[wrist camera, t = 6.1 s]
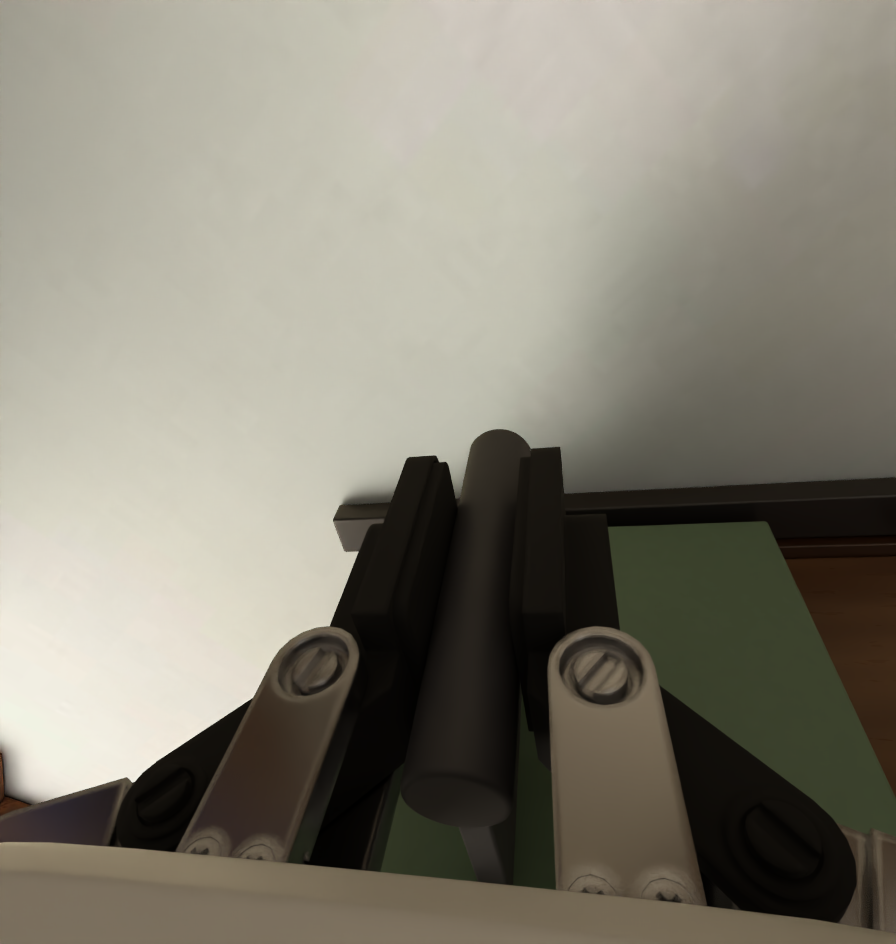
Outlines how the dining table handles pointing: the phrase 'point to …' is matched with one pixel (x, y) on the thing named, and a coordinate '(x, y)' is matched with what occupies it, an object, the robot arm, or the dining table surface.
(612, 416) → the dining table surface
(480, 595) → the door
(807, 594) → the cabinet
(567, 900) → the robot arm
